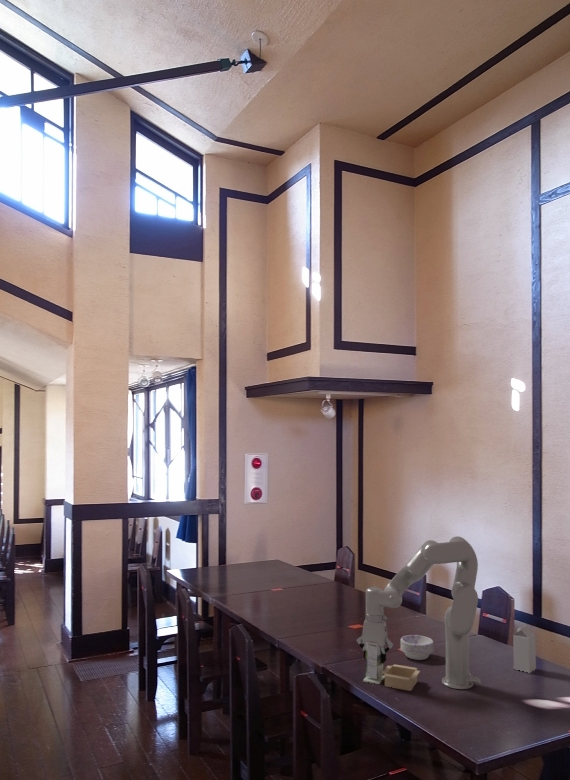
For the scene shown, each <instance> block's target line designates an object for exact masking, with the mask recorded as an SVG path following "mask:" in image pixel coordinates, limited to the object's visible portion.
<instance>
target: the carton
mask: <svg viewBox="0 0 570 780" xmlns="http://www.w3.org/2000/svg"><path fill="white" fill-rule="evenodd" d="M420 672H421V670H418V668H417V667H413V666H407V665H401V664H393V665H386V667H384V671H383V672H382V673H383V674H384V676H385V678H384V687H387V688H391V687H392V688H393V689H399V690H403V691H409V692H411V691H412V690H413V689H414V687H415V685H416V684H417V683H418V675H419V674H420ZM392 688H391V689H392Z"/></svg>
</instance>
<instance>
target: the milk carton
mask: <svg viewBox="0 0 570 780" xmlns="http://www.w3.org/2000/svg"><path fill="white" fill-rule="evenodd" d="M528 626H529V625H528V624H524V625H523V626H520V627H518V628H516V631H517V632H515V633H514V634H513V638H512V639H513V644H512V645H513V670H514V669H515V671H518V670H520V671H519V672H522V671H524V672H523V673H526V672H528V673H527V674H531V673H533V672H534V671H536V670H537V664H536V663H537V657H536V655H537V654H536V634H535V633H534V632H533V631H532V630H531V629H530V627H528ZM535 669H536V670H535ZM533 670H534V671H533ZM532 671H533V672H532ZM530 672H531V673H530Z"/></svg>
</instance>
